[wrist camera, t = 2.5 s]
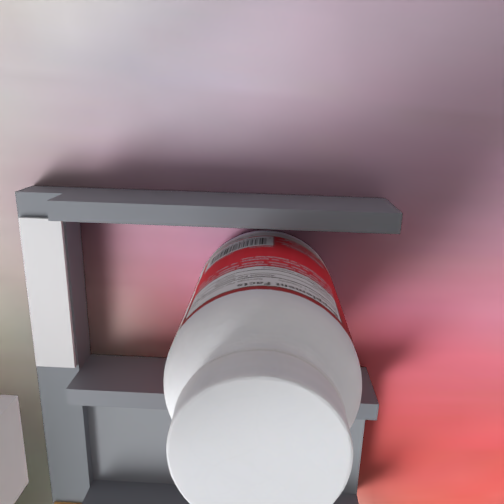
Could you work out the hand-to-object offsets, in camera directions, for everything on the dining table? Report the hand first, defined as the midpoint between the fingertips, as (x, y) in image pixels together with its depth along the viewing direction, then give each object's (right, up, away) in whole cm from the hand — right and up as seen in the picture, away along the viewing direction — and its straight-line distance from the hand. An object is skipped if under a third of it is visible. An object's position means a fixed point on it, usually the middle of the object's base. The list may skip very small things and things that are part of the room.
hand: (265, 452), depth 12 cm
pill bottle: (0, +3, +10) cm, 11 cm away
